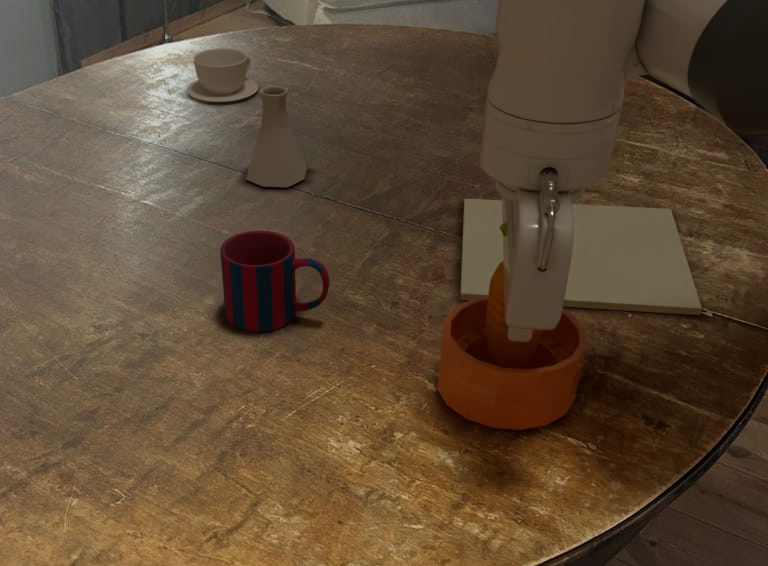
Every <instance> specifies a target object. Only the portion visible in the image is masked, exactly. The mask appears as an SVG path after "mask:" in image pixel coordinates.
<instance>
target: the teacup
mask: <svg viewBox="0 0 768 566" xmlns="http://www.w3.org/2000/svg"><path fill="white" fill-rule="evenodd" d="M193 64H194V69H195V75H196V76H197V79H198V80H195V81H194V82H192V83H190V84H189V85H188V86H187V88H186V92H187V94H188V95H189V96H190V97H191V98H194V99H198V100H200V101H203V102H204V101H205V102H212V103H213V102H214V103H215V102H216V103H220V102H221V103H223V102H233V101H238V100H243V99H246V98H248V97H250V96H252V95H254V94H255V93H256V92H257V91H258V89H259V85H258V83H257V82H256V81H255V80H253V79H250V78H248V77H246V76H247V73H248V72H249V70H250V68H251V58H250V56H248V54H247V53H246V52H245V51H243V50H241V49H236V48H229V47H221V48H210V49H206V50H202V51H200V52H198V53H196V54H194V56H193Z"/></svg>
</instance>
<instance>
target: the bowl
mask: <svg viewBox="0 0 768 566" xmlns="http://www.w3.org/2000/svg"><path fill="white" fill-rule="evenodd" d="M487 304H488V296H484V297H478V298H474V299H471V300H466V301H465V302H463V303H461V304H459V305H456V306H455V307H454V308H453V309H452V310H451V311H450V312H449V313H448V315H447V316H446V317H445V318H444V320H443V327H442V338H441V344H440V345H441V346H440V353H439V354H440V355H439V364H438V373H437V387H436V388H437V391H438V393H439V394H440V396H441V398H442V400H443V401H444V402H445V403H444V404H445V405H446V406H447V407H448V408H450V409H452V410H453V411H454V412H456V413H457V414H459V415H460V416H462V417H463V418H464V419H466V420H468V421H472V422H475V423H479V424H480V425H484V426H487V427H489V428H492V429H502V430H504V429H505V430H514V431H515V430H516V431H522V430H527V429H532V428H538V427H544V426H545V427H546V426H548V425H550V424H551V423H554V422H555V421H557V420H559V419H561V418H562V417H564V416H565V415H567V413H568V411H569V410H570V408H571V407H572V405H573V403H574V402H575V400H576V396H577V391H578V388H579V387H578V386H579V384H580V383H579V382H580V379H581V375H582V370H583V366H584V361H585V358H586V354H587V348H588V338H587V337H588V336H587V331H586V328H585V327H584V325H583V324H582V323H581V322H580V321H579V320H578V319H577V318H576V316H575V315H574V314H573V313H571V312H569V311H568V310H566V309H564V308H563V310H562V315H561V318H560V321H559V323H558V325H557V326H556V327H555V328H554V329H552V330H543V332H542V334H541V337H540V340H539V342H538V344H537V346H536V349H535V351H534V353H533V355H532V358H531V360H530V362H529V364H528V366H527V367H526V369H515V368H502V367H499V366H496V365H493V364H491V363H490V359H489V356H488V347H487V334H486V318H487Z"/></svg>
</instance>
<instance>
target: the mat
mask: <svg viewBox="0 0 768 566" xmlns="http://www.w3.org/2000/svg"><path fill="white" fill-rule="evenodd" d="M572 209H573V216H574V240H573V251H572V258H571V264H570V270H569V276H568V282H567V288H566V294H565V299H564V305H563V308H580V309H594V310H595V309H597V310H612V311H626V312H627V311H628V312H642V313H656V314H657V313H659V314H673V315H689V316H691V315H692V316H700V315H701V313H702V310H703V306H702V304H701V300H700V297H699V294H698V292H697V288H696V285H695V281H694V279H693V276H692V272H691V269H690V267H689V266H690V265H689V262H688V259H687V256H686V253H685V249H684V246H683V243H682V240H681V237H680V234H679V230H678V227H677V223H676V221H675V218H674V214H673V212H672V209H671V208H663V207H661V208H659V207H642V206H641V207H640V206H621V205H603V204H602V205H601V204H584V203H583V204H582V203H581V204H580V203H572ZM462 214H463V215H462V216H463V217H462V219H463V220H462V240H461V242H462V243H461V262H460V263H461V266H460V290H459V300H460V301H469V300H471V299H474V298H478V297H484V296H488V295H489V286H490V281H491V278H492V275H493V273H494V272H495V270H496V268H497V267H498V265H499V263H501V262H502V261H503V233H502V231H501V229H500V228H499V227H500V226H501V225H502V224H503V221H502V199H501V200H500V199H499V200H498V199H481V198H464V200H463V213H462Z"/></svg>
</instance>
